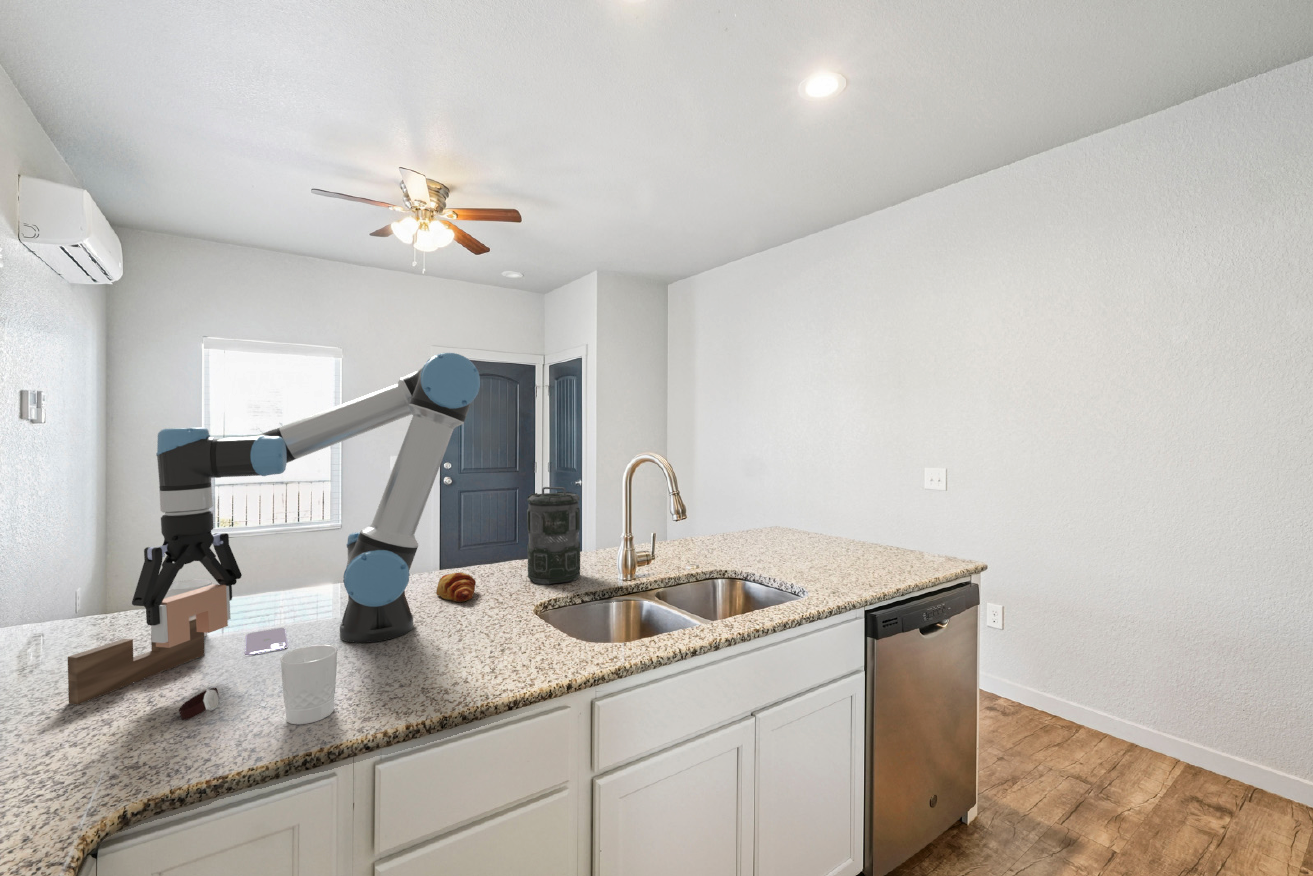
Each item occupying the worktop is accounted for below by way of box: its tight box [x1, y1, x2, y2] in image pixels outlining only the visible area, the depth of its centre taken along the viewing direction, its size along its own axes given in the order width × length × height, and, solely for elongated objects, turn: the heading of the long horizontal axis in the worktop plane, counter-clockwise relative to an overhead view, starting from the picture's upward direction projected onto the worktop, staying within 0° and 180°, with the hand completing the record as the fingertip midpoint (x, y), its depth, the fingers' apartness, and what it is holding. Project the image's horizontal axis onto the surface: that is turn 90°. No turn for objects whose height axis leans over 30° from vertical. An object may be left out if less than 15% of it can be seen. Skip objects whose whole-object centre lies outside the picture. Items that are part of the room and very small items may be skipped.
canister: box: [526, 486, 581, 586], centre depth 180 cm, size 16×16×28 cm
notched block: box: [156, 583, 229, 648], centre depth 109 cm, size 11×3×8 cm, turn 167°
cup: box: [164, 578, 213, 638], centre depth 131 cm, size 9×9×12 cm
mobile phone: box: [244, 627, 289, 656], centre depth 128 cm, size 8×1×15 cm
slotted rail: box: [67, 616, 206, 706], centre depth 110 cm, size 2×22×8 cm, turn 167°
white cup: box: [280, 644, 338, 725], centre depth 96 cm, size 8×8×10 cm
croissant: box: [436, 572, 477, 603], centre depth 163 cm, size 21×10×8 cm, turn 34°
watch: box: [178, 687, 220, 721], centre depth 97 cm, size 8×5×4 cm, turn 13°
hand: (193, 630), depth 109 cm, fingers closed on notched block, 11 cm apart
